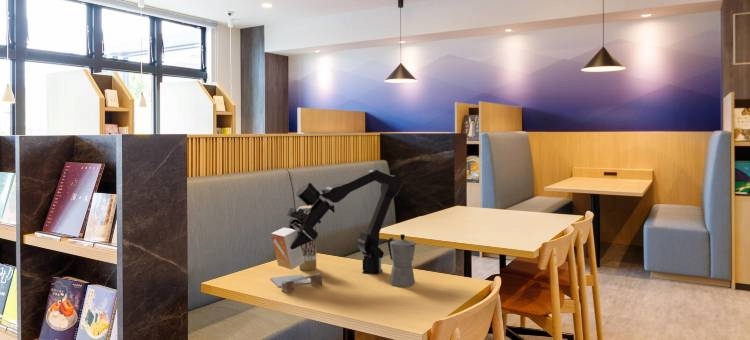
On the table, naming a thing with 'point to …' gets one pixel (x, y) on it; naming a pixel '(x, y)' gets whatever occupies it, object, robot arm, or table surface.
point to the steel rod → (301, 278)
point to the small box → (287, 248)
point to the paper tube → (308, 251)
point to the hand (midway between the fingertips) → (287, 246)
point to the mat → (279, 280)
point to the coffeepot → (401, 261)
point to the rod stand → (289, 286)
